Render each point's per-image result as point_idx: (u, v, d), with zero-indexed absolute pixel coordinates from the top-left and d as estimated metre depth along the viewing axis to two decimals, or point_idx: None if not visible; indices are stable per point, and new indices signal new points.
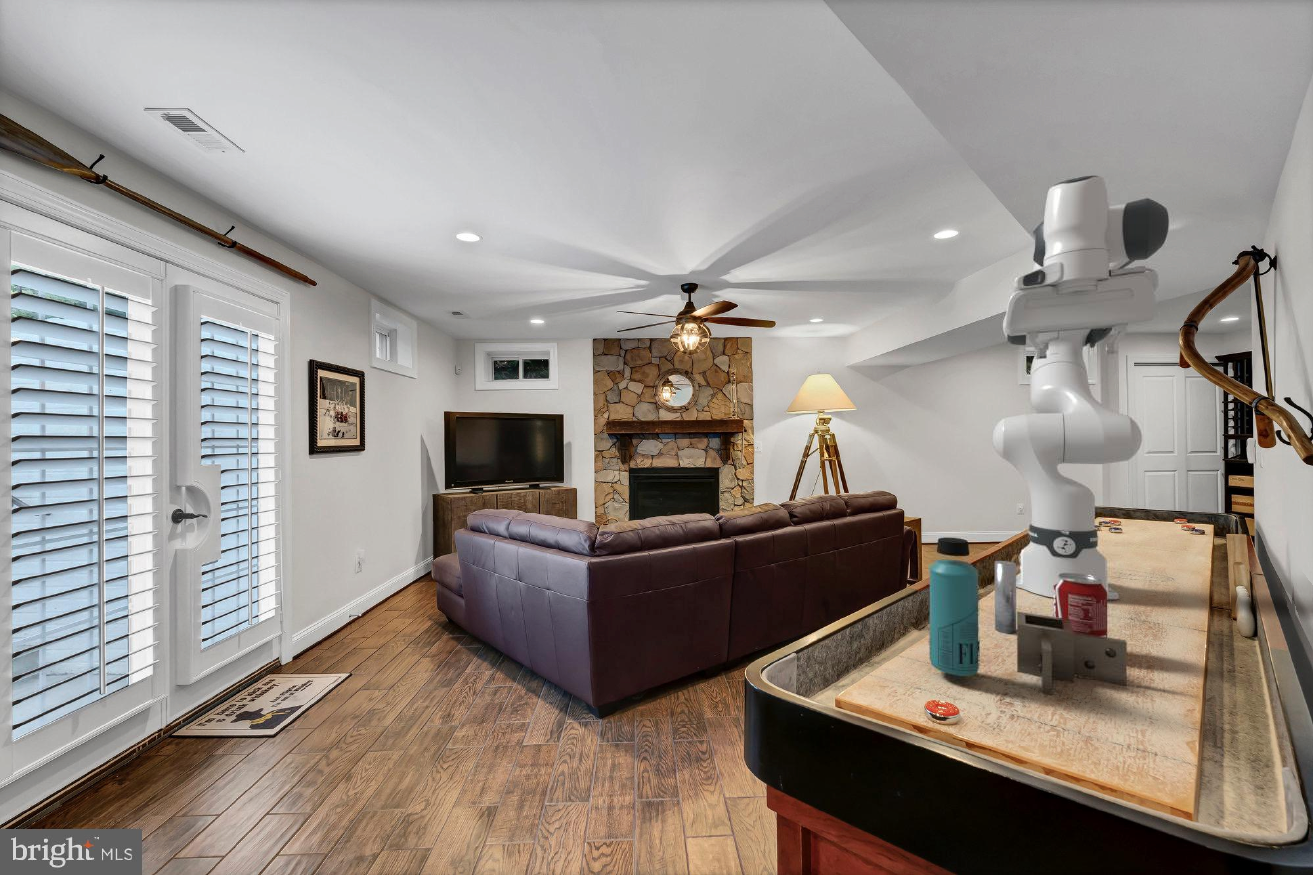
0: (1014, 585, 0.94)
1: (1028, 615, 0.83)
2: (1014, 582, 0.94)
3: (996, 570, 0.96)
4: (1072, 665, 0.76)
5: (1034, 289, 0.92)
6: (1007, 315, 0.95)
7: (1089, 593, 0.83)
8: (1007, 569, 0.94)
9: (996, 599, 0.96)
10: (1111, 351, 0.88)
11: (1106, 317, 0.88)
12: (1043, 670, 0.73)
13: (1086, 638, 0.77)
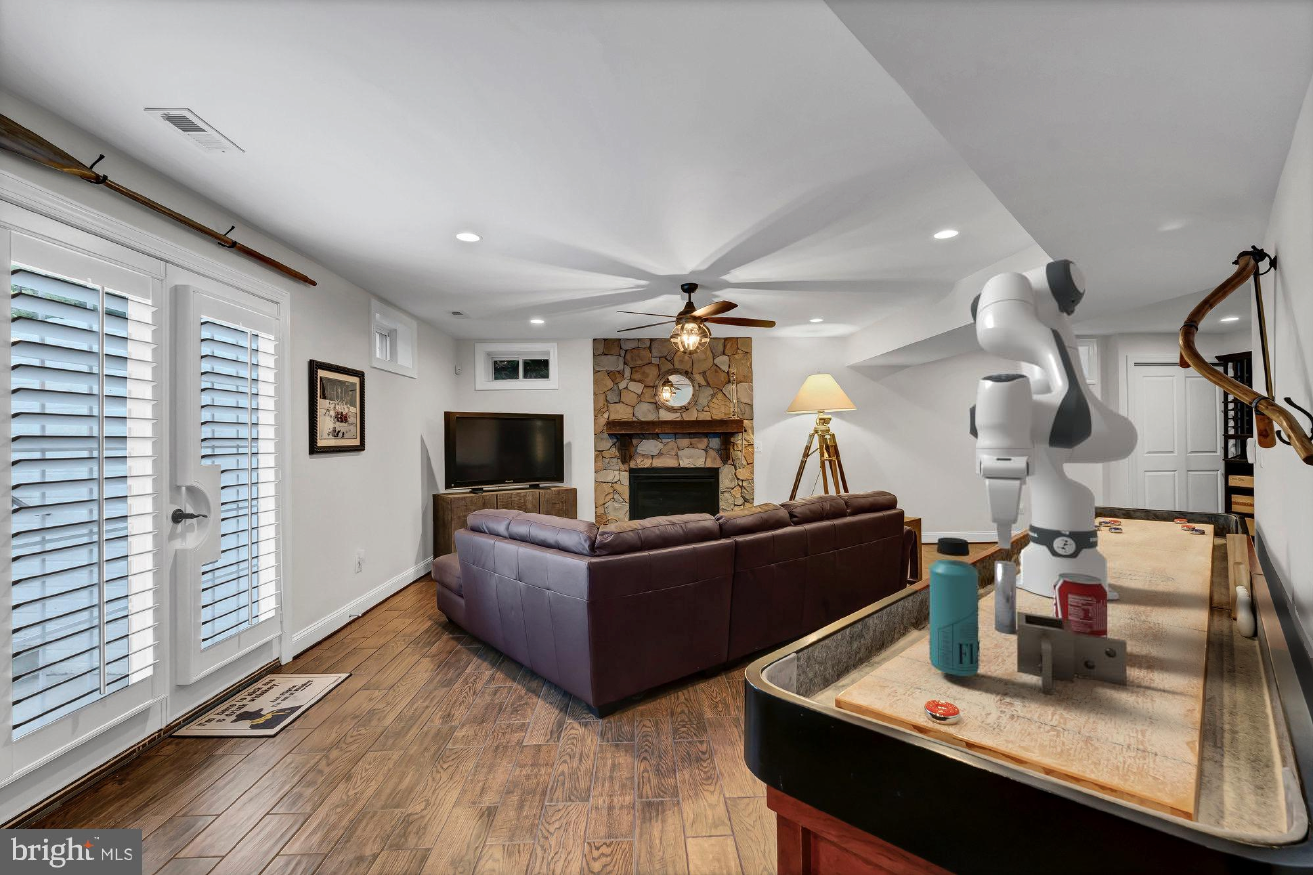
0: (1014, 585, 0.94)
1: (1028, 615, 0.83)
2: (1014, 582, 0.94)
3: (996, 570, 0.96)
4: (1072, 665, 0.76)
5: (1023, 479, 0.89)
6: (1018, 505, 0.86)
7: (1089, 593, 0.83)
8: (1007, 568, 0.94)
9: (996, 599, 0.96)
10: None
11: None
12: (1043, 670, 0.73)
13: (1086, 638, 0.77)
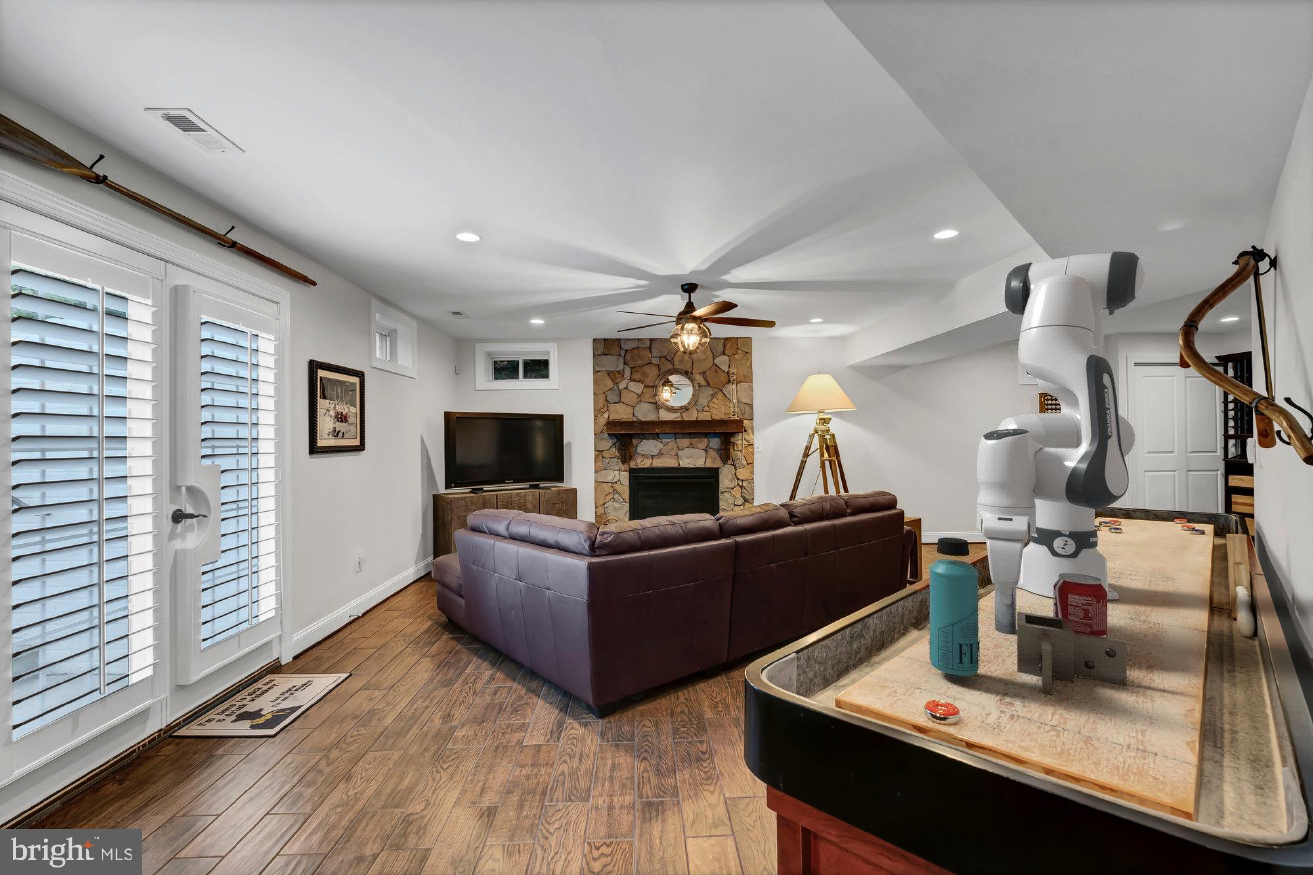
0: None
1: (1028, 615, 0.83)
2: None
3: None
4: (1072, 665, 0.76)
5: (1024, 540, 0.89)
6: (1020, 568, 0.86)
7: (1089, 593, 0.83)
8: None
9: (996, 599, 0.96)
10: None
11: None
12: (1043, 670, 0.73)
13: (1086, 638, 0.77)
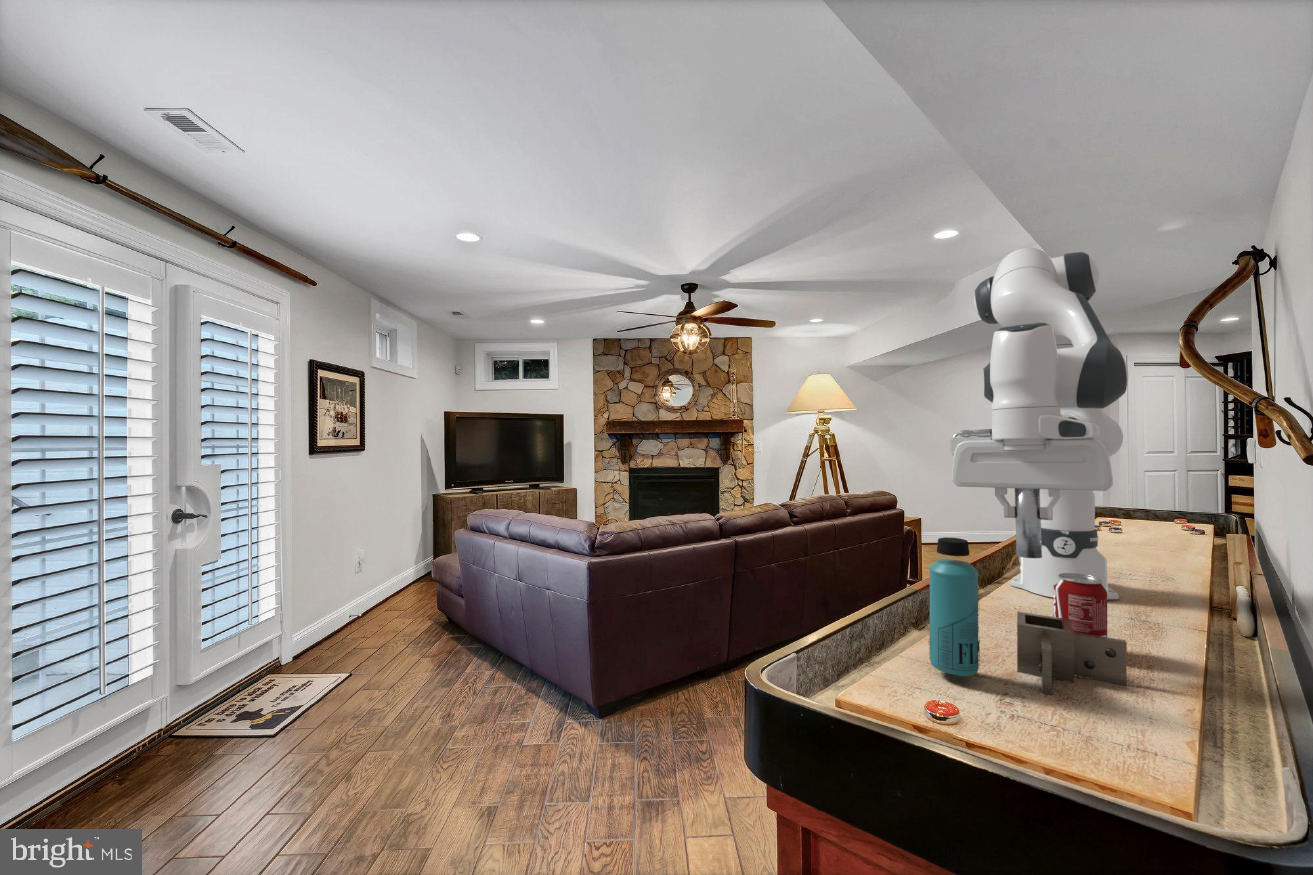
0: None
1: (1028, 615, 0.83)
2: None
3: None
4: (1072, 665, 0.76)
5: None
6: None
7: (1089, 593, 0.83)
8: None
9: (1033, 521, 0.81)
10: None
11: None
12: (1043, 670, 0.73)
13: (1086, 638, 0.77)
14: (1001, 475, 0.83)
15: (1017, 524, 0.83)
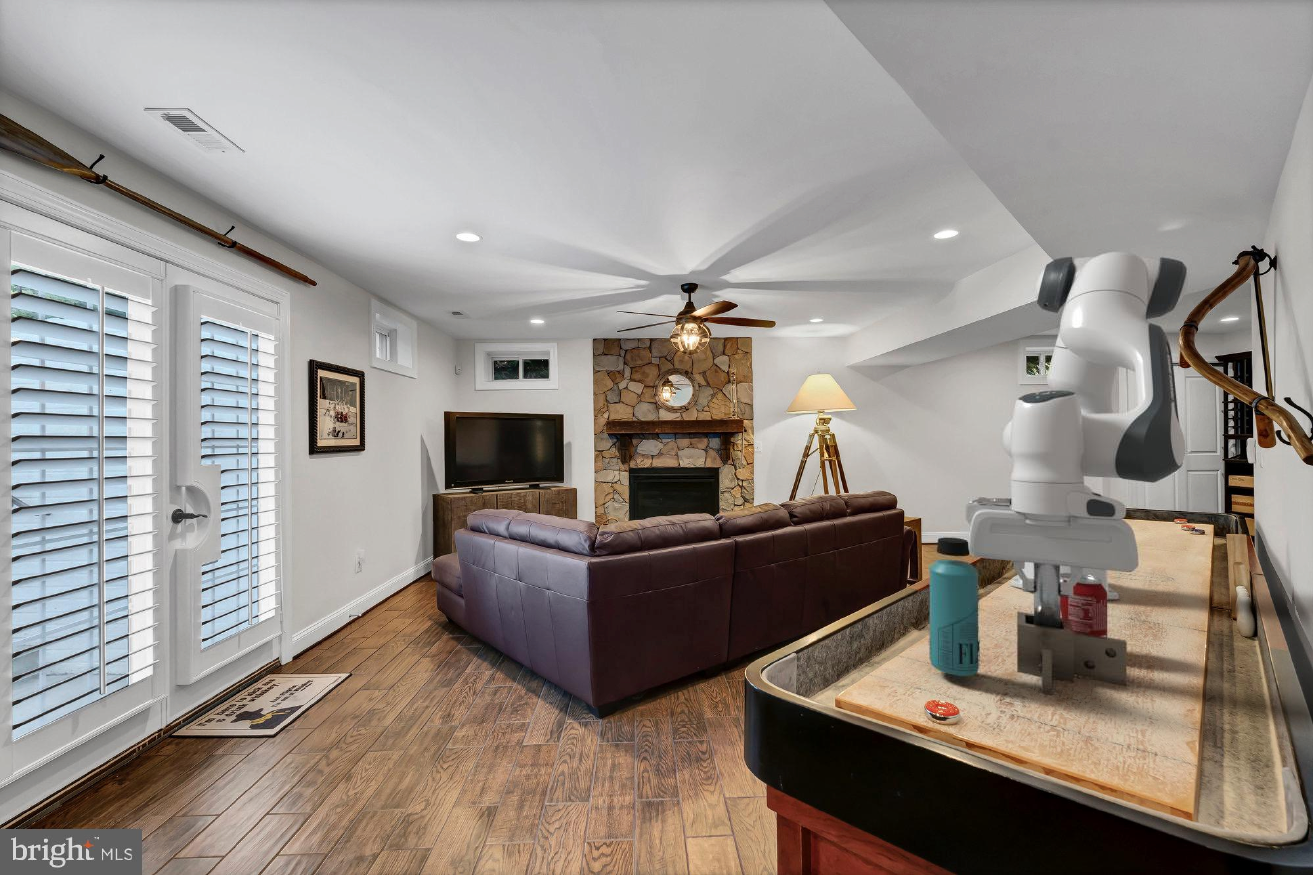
0: None
1: (1028, 615, 0.83)
2: None
3: None
4: (1072, 665, 0.76)
5: None
6: None
7: (1089, 593, 0.83)
8: None
9: (1054, 598, 0.79)
10: None
11: None
12: (1043, 670, 0.73)
13: (1086, 638, 0.77)
14: (1022, 549, 0.80)
15: (1036, 599, 0.80)
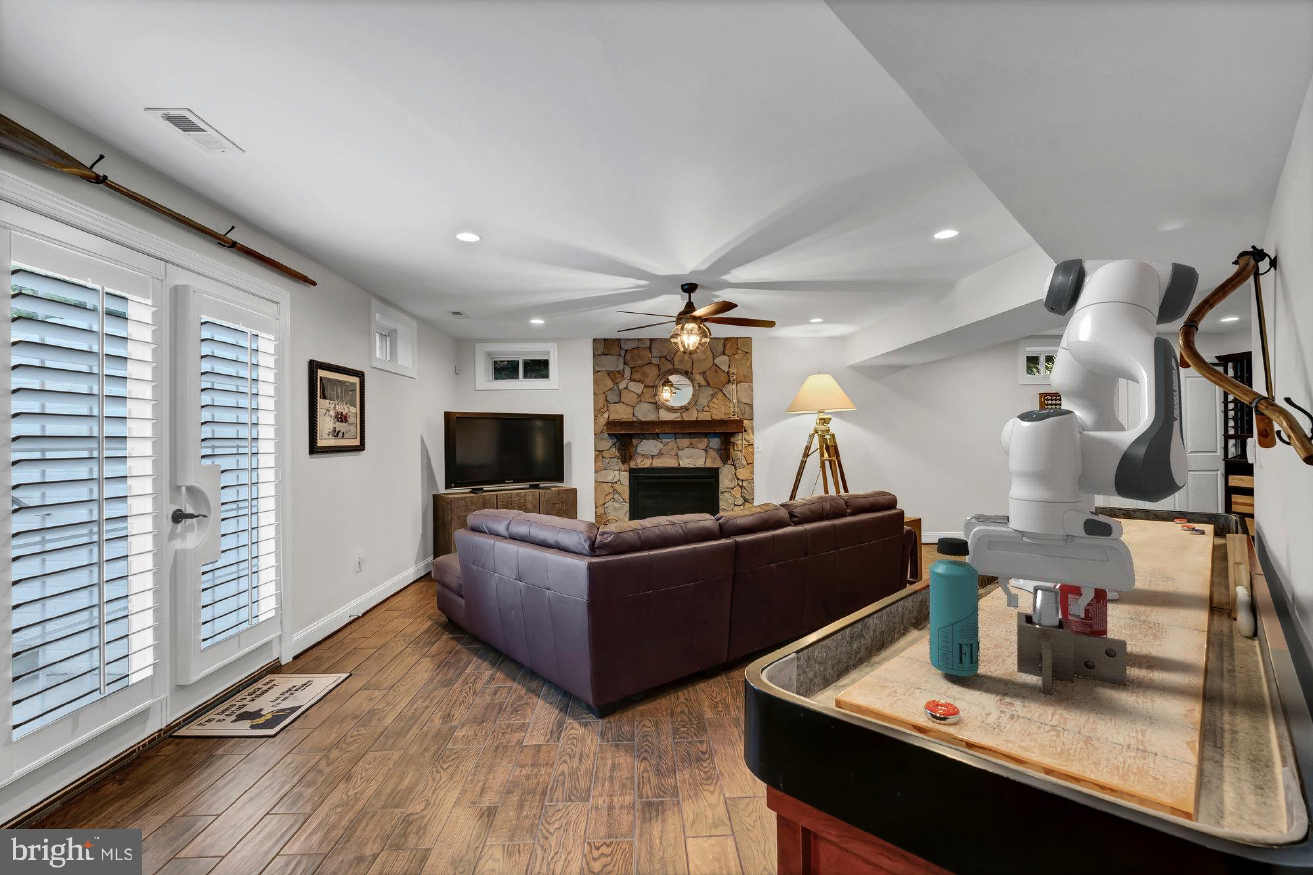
0: None
1: (1028, 615, 0.83)
2: None
3: (1054, 601, 0.78)
4: (1072, 665, 0.76)
5: None
6: None
7: None
8: None
9: None
10: None
11: None
12: (1043, 670, 0.73)
13: (1086, 638, 0.77)
14: (1019, 567, 0.81)
15: None
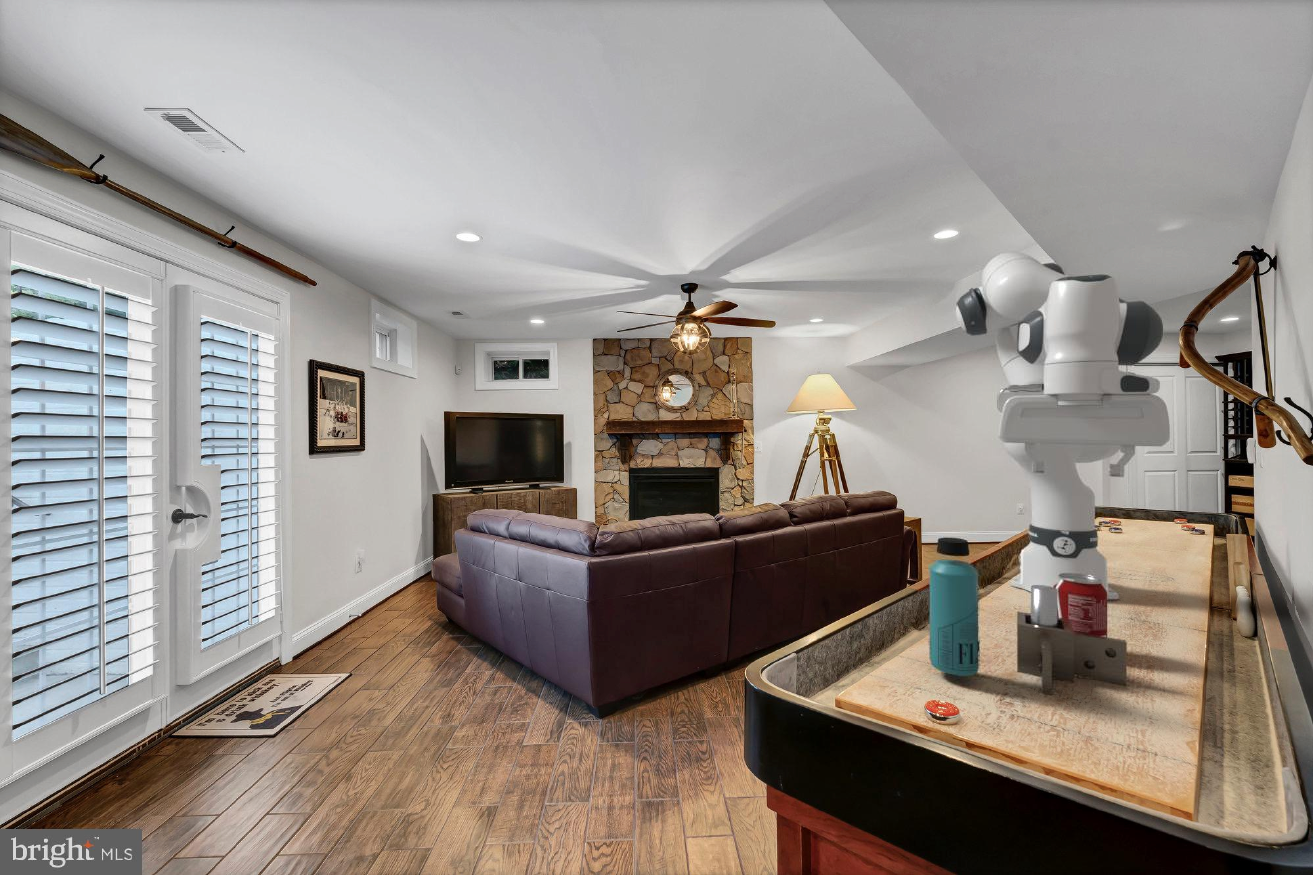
0: None
1: (1028, 615, 0.83)
2: None
3: (1051, 600, 0.79)
4: (1072, 665, 0.76)
5: None
6: None
7: (1089, 593, 0.83)
8: None
9: None
10: None
11: None
12: (1043, 670, 0.73)
13: (1086, 638, 0.77)
14: (1053, 431, 0.82)
15: None
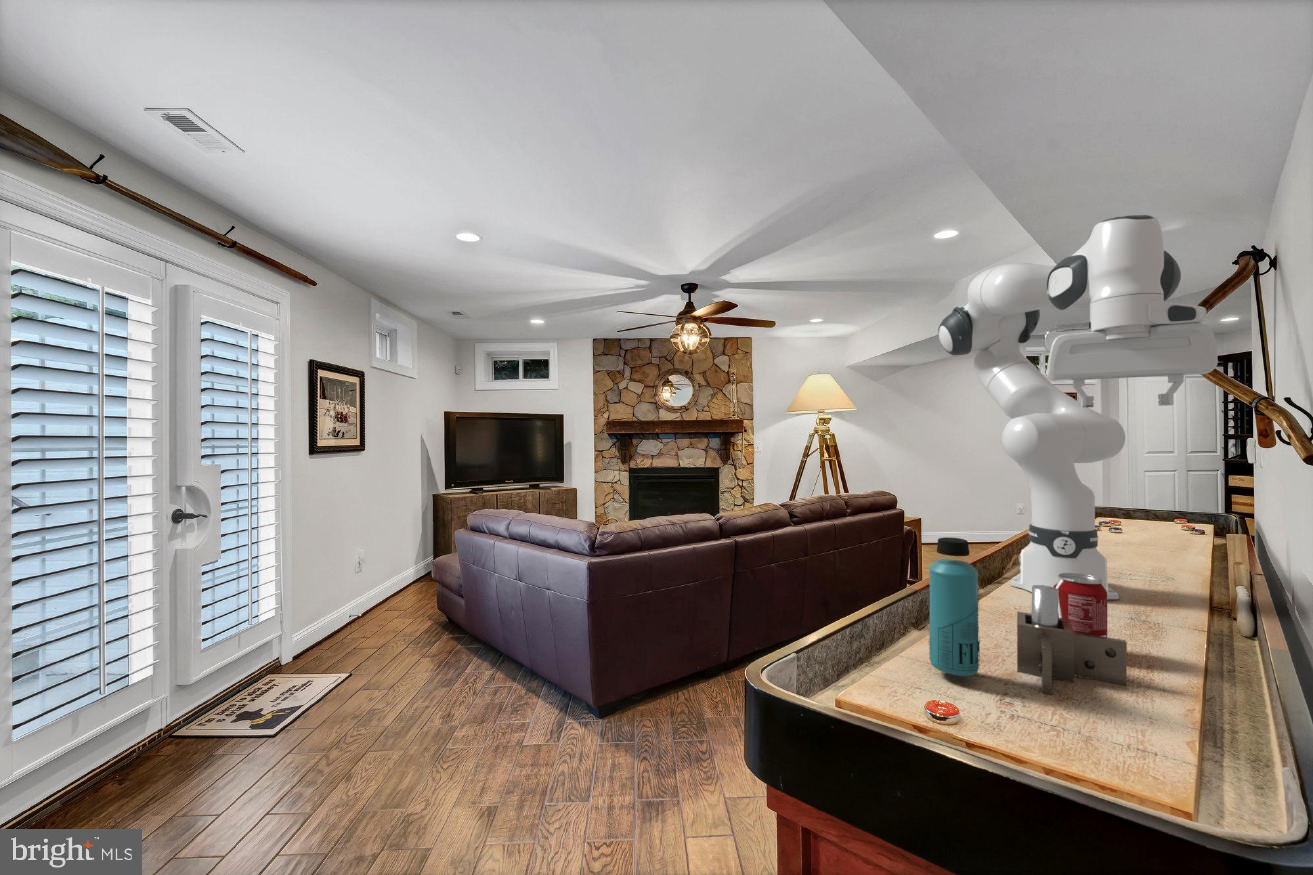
0: None
1: (1028, 615, 0.83)
2: None
3: (1052, 600, 0.79)
4: (1072, 665, 0.76)
5: None
6: None
7: (1089, 593, 0.83)
8: None
9: None
10: None
11: None
12: (1043, 670, 0.73)
13: (1086, 638, 0.77)
14: (1102, 365, 0.86)
15: None
